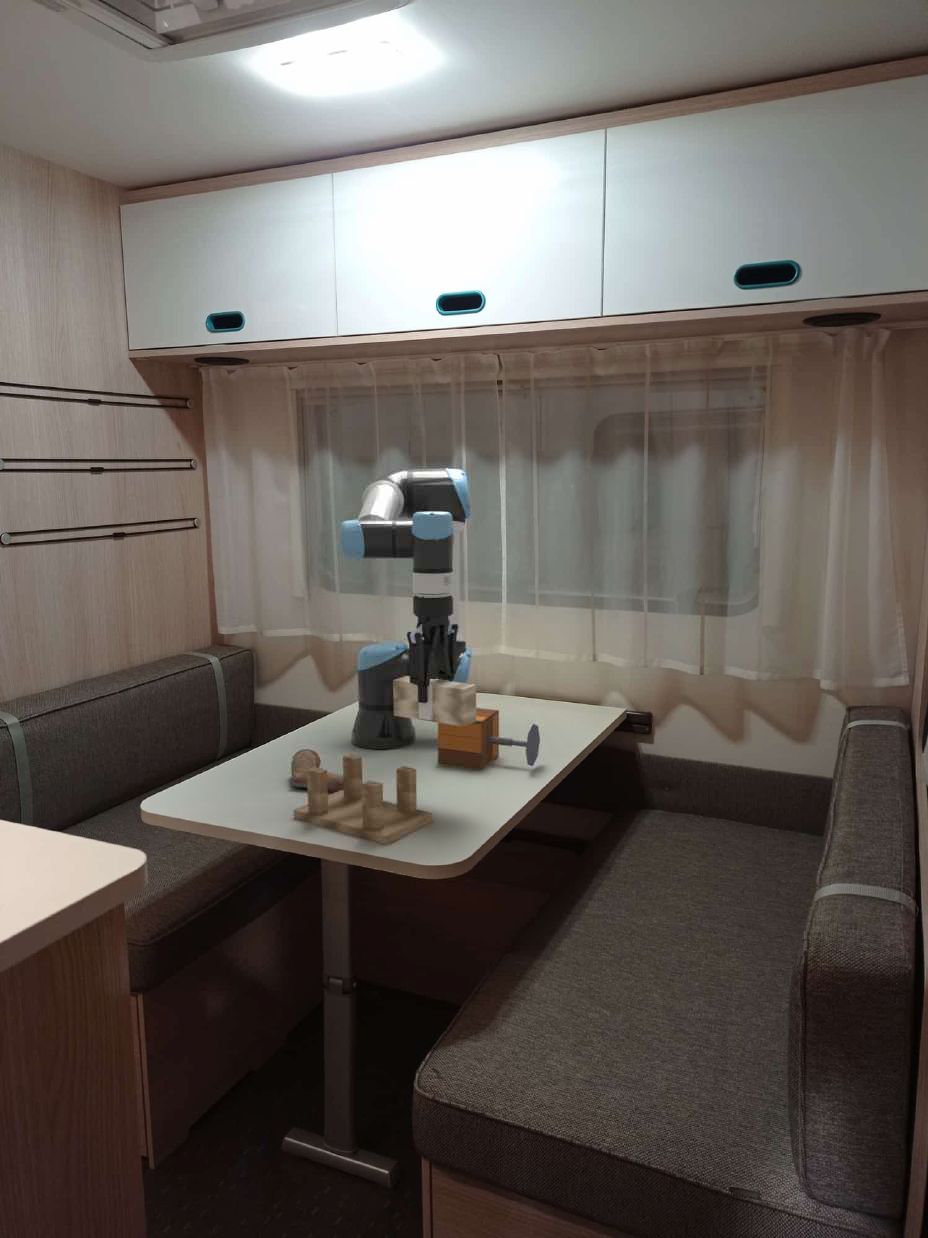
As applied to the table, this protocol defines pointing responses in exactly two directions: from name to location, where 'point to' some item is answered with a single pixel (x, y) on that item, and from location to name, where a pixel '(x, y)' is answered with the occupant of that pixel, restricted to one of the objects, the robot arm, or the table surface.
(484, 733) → the wooden box with plunger
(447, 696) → the cream wooden block
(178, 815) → the table surface
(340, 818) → the wooden block assembly
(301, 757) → the pipe
